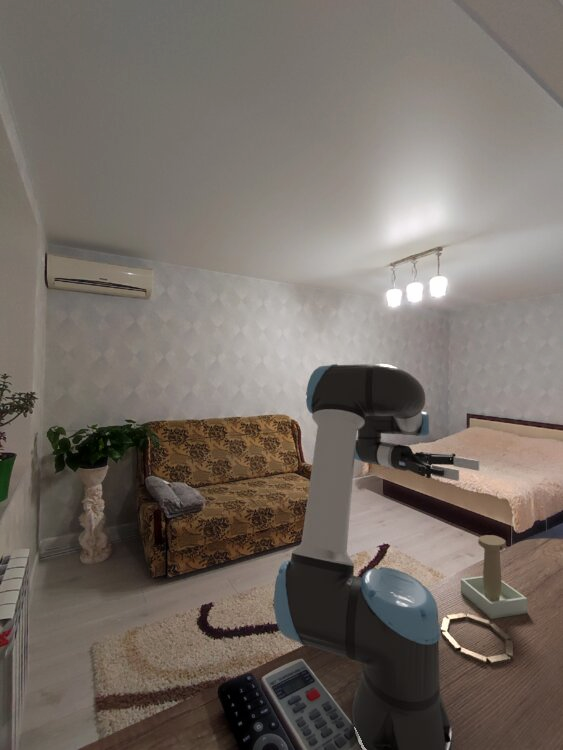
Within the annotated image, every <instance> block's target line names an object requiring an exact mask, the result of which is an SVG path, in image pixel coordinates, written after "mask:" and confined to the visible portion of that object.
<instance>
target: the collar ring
mask: <svg viewBox="0 0 563 750" xmlns="http://www.w3.org/2000/svg"><path fill="white" fill-rule="evenodd" d="M445 616H446V617H445ZM445 616H444V617H443V619H442V622H441V627H440V634H441V636H442V638H443V639H444V640H445V641H446V642H447V643H448V645H449V646H450V647H451V648H452V649H453V650H454V651H455V653H457V652H460V656H462V657H463V658H467V659H469V660H471V661H474V662H476V663H479V664H481V665H484V666H487V663H488V664H489V665H490V667H494V666H501V665H504V664H505V665H506V664H511V661H514V645H513V644H514V642H513V641H512V639H511V637H510V636H509V635H507V633H505V632H504V631H503V630H502V629H501V628H499V627H498V625H497V624H496V623H490V620H488V619H485V618H482V617H479V616H477V615H473V614H470V613H467V615H466V614H465V613H464V612H459V613H455V614H454V613H453V614H448V615H445ZM461 621H469V622H472V623H474V624H478V625H480V626H484V627H487V628H489V629H490V630H491V631H492V632H493V633H495V634H496V635H497V637H499V638H500V639H501V640H502V641H503V642H504V643H505V653H501V654H496V655H491V656H484V655H482V654H479V653H477V652H474V651H472V650H469V649H467V648H464V647H462V646H460V644H459V643H458V642H457V641H456V640H455V638H453V636H451V634H450V633H449V632H448V631H449V627H450V623H451V624H452V623H456V622H461Z"/></svg>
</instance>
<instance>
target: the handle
mask: <svg viewBox="0 0 563 750" xmlns="http://www.w3.org/2000/svg"><path fill="white" fill-rule="evenodd" d="M477 542H478V545H479V546H480V547H482V548H483V550H484V553H483V554H484V555H483V571H482V576H483V585H484V591H485V597H486V598H487V599H488V600H489V601H491V602H494V601H499V599H500V593H501V580H502V567H501V557H500V556H501V555H500V554H501V551H503V550H504V549H505V548H506V546H507V541H506V540H505V539H504V538H503V537H500V536H498V535H494V534H490V535H489V534H485V535H481V536H479V537H478V541H477Z"/></svg>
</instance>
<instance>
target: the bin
mask: <svg viewBox="0 0 563 750" xmlns="http://www.w3.org/2000/svg"><path fill="white" fill-rule="evenodd" d="M460 593H461V594H462V595H463V596H465V597H466V598H467V599H468V600H469V601H470V602H471V603H472V604H473V605H475V606H476V607H477V608H478V609H479V610H480V611H481V612H483V613H484V614H485V615H486V616H487V617H488V618H490V619H491V620H493V619H499V618H505V617H512V616H519V615H523V614H528V598H527V597H526V596H524V595H523V594H522V593H520V592H519V591H518V590H516V589H515V588H514V587H512V586H511V585H509V584H507V583H506V582H505V581H504V580H502V579H501V593H500V599H499V601H494V602H491V601H489V600H488V599H487V598H486V597H485V591H484V585H483V575H480V576H473V577H471V576H470V577H466V578H460Z"/></svg>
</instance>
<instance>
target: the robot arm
mask: <svg viewBox="0 0 563 750" xmlns="http://www.w3.org/2000/svg"><path fill="white" fill-rule="evenodd" d="M305 395H306V399H305V400H306V401H305V403H306V407H307V410H308V412H309V413H310V414H312V415H311V417H312V420H313V422H314V423H315V424H316V425H317V429H316V435H315V436H316V437H315V442H314V444H315V445H314V450H313V458H312V463H311V464H312V465H311V471H310V472H311V473H310V478H309V486H308V493H307V501H306V507H305V515H304V523H303V530H302V536H301V537H302V538H301V542H300V544H299V545H298V546H297V547H295V548H294V549H293V550H292V551H291V558H290V559H289V560H285V561H283V563H281V565H280V566H279V568H278V574H277V575H276V577H275V578H276V579H275V584H274V592H273V595H274V596H273V610H274V616H275V621H276V625H277V628H278V629H279V631H280V633H281V635H283V636H284V637H286V638H288V639H289V640H293V641H295V642H298V643H299V644H301V645H302V646H303V647H304V646H305V647H307V646H309V647H312V648H315V649H318V650H322V651H325V652H328V653H329V654H330V653H331V654H333V655H337V656H340V657H343V658H346V659H350V660H353V661H356V662H360V663H362V673H361V676H360V678H359V682H358V685H357V687H356V691H355V693H354V694H353V695H354V696H353V701H352V709H351V711H352V726H353V725H354V727H355V728H356V730H357V732H358V734H359V736H360V738H361V740H362V743H363V745H364V747H365V748H366V749H367V750H454V737H453V736H454V735H453V730H452V725H451V722H450V718H449V715H448V712H447V709H446V706H445V703H444V701H443V697H442V694H441V692H440V689H441V687H440V685H441V683H440V680H441V679H440V645H439V640H440V638H441V627H440V623H439V610H438V605H437V602H436V600H435V597H434V596H433V594H432V593H431V591H430V590H429V589H428V588H427V587H426V586H425V585H424V584H422V582H421V581H419V580H418V579H417V578H416V577H413V576H412V575H410V574H408V573H406V572H404V571H401V570H398V569H394V568H391V567H381V566H380V567H379V568H376V567H373V568H370V569H368V570H367V571H366V572H364V573H363V575H362V577H361V576H356V575H354V568H355V563H354V562H353V560H352V558H351V557H350V556H349V554H348V541H349V529H350V517H351V505H352V504H351V502H352V494H353V493H352V492H353V479H354V471H355V469H354V468H355V460H356V461H360V462H362V463H365V464H366V463H367V464H373V465H376V466H377V465H378V466H382V467H385V468H386V469H390V468H391V469H395V470H400V471H403V472H405V471H410V472H412V473H414V474H417V475H418V476H421V477H425V476H426V477H425V478H427V479H432V476H434V477H437V478H438V477H439V478H442V479H443V478H444V479H448V480H452V481H460V468H463V469H466V470H467V469H468V470H472V471H473V470H474V471H480V460H478V459H474V458H465V457H460V456H456V453H455V452H454V453H451V454H450V453H439V452H438V453H437V452H436V453H434V452H427V451H425V452H424V451H420V452H419V451H418V452H417V451H416V452H415V453H414V452H413V451H412V448H411V447H410V446H409V445H405V444H404V445H403V444H397V443H392V442H386V441H382V435H383V434H386V435H387V434H390V435H404V436H405V435H406V436H415V437H419V436H428V435H429V433H430V420H429V419H430V414H429V413H428V412H427V411H423V409H424V407H425V404H426V393H425V390H424V387H423V385H422V384H421V382H420V381H419V380H418V379H416V378H415V377H414V375H412V374H411V373H409V372H407V371H405V370H403V369H402V368H399V367H397V366H393V365H391V364H385V363H374V364H372V363H371V364H370V363H369V364H365V363H363V364H339V365H338V364H337V363H335V364H333V363H332V364H330V365H329V364H328V365H321V366H318V367H317V368H315V369H314V370H313V372H312V373H311V375H310V377H309V378H308V382H307V386H306V394H305ZM442 465H443V466H442ZM444 465H446V466H444ZM447 466H453V467H457V468H458V469H457V468H453V467H447Z"/></svg>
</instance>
